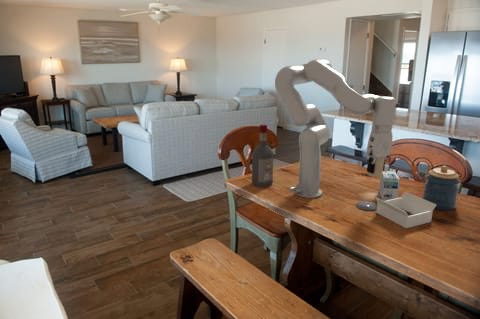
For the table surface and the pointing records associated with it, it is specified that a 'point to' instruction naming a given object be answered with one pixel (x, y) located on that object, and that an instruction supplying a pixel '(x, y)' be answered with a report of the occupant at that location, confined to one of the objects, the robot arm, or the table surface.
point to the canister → (442, 188)
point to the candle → (377, 167)
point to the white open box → (408, 203)
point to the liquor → (262, 161)
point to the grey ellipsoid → (366, 205)
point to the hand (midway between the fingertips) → (375, 170)
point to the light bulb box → (389, 185)
